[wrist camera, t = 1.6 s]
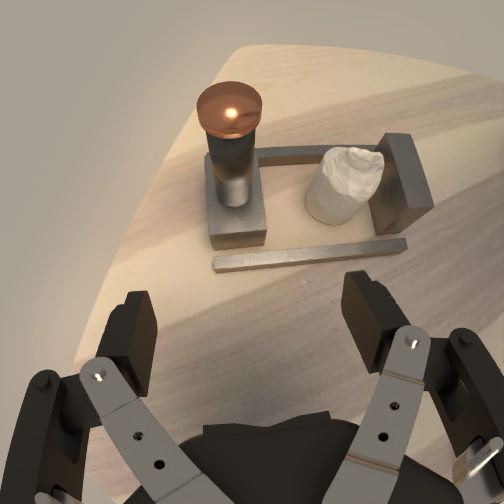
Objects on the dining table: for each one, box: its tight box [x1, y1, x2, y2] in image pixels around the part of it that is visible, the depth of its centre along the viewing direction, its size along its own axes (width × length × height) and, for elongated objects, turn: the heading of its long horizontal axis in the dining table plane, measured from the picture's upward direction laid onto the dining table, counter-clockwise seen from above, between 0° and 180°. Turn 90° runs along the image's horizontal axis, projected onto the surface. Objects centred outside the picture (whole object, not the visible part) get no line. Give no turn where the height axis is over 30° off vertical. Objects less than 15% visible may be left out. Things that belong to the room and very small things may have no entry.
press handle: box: [197, 81, 267, 250], centre depth 26 cm, size 5×8×17 cm, turn 6°
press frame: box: [207, 133, 434, 273], centre depth 30 cm, size 20×13×8 cm, turn 96°
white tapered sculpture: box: [306, 147, 384, 225], centre depth 29 cm, size 6×12×6 cm
